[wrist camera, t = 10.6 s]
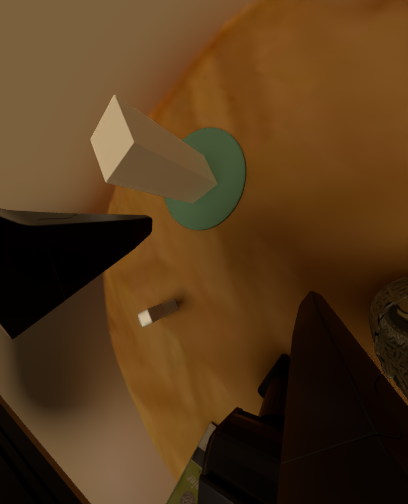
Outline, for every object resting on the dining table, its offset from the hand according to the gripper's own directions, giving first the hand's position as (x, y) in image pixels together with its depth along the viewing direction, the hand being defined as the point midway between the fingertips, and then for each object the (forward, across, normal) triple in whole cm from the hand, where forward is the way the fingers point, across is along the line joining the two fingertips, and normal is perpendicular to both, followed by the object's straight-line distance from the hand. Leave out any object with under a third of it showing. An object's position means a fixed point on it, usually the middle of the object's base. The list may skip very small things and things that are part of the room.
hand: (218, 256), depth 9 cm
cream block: (+15, +10, 0) cm, 18 cm away
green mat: (+15, +9, 0) cm, 18 cm away
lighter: (+9, +7, +19) cm, 22 cm away
